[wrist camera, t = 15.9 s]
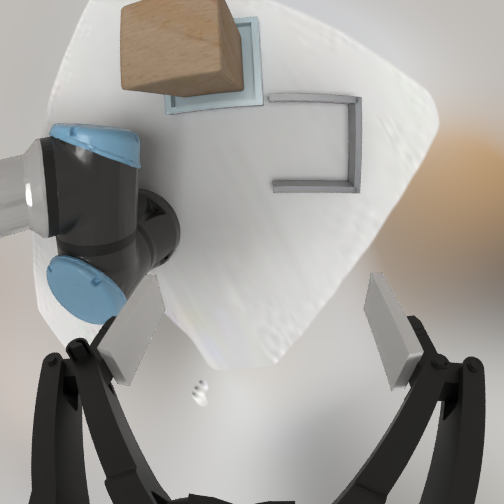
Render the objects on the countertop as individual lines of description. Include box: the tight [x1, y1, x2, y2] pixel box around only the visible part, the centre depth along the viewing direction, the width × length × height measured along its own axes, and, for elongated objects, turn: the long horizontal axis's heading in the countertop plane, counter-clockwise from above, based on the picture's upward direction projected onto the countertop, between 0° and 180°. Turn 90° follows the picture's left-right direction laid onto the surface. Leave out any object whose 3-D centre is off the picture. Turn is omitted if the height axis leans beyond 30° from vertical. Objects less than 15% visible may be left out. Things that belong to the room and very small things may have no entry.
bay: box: [269, 94, 362, 193], centre depth 40 cm, size 14×15×4 cm
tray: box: [165, 17, 263, 115], centre depth 35 cm, size 15×15×2 cm
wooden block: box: [120, 0, 244, 98], centre depth 27 cm, size 10×10×20 cm
